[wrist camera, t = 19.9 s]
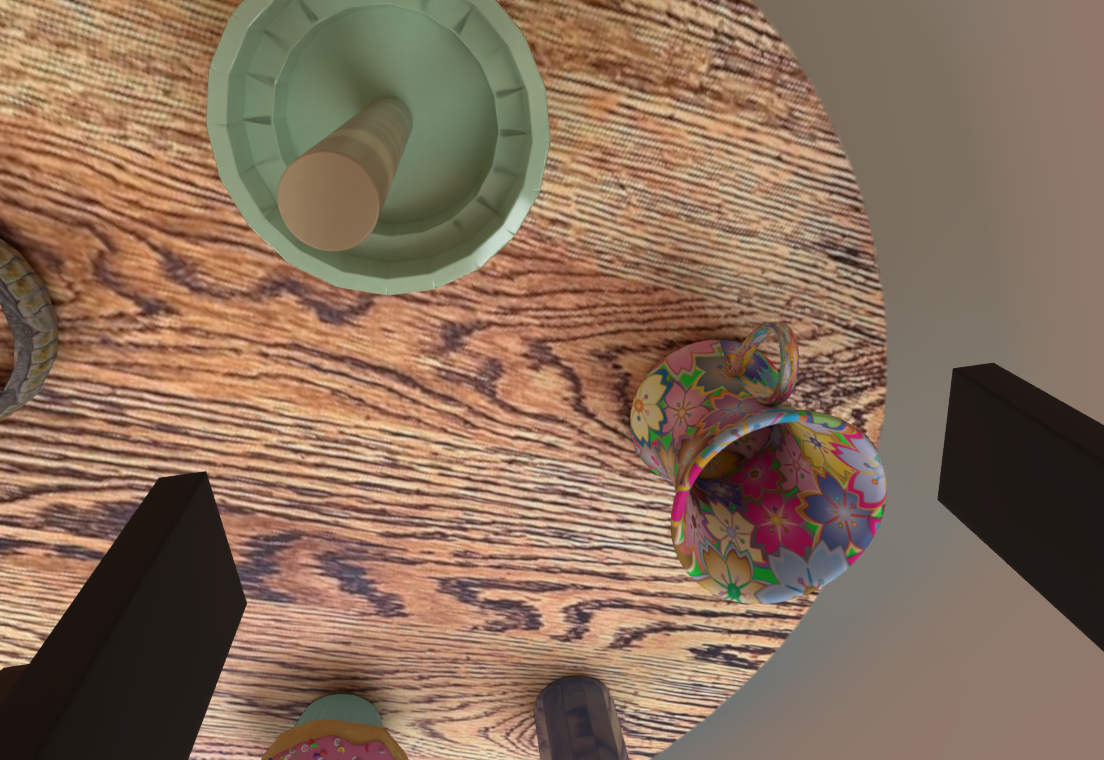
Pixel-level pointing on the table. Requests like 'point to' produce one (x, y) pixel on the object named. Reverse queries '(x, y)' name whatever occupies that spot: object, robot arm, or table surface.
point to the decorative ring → (25, 329)
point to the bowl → (433, 146)
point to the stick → (346, 177)
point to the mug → (755, 471)
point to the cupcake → (337, 733)
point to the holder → (578, 721)
